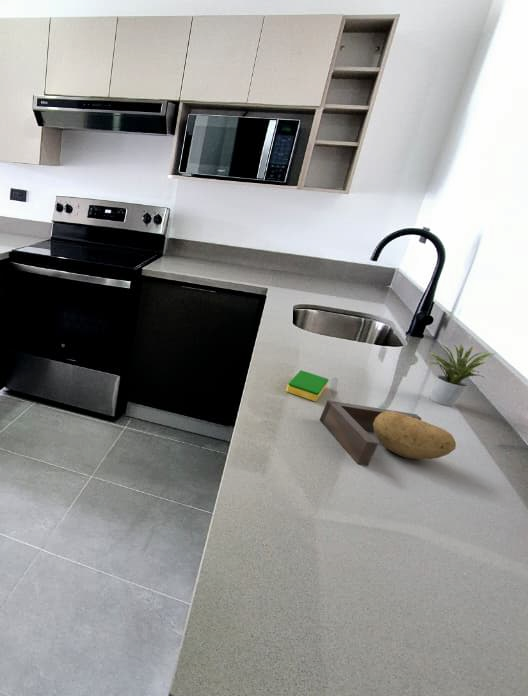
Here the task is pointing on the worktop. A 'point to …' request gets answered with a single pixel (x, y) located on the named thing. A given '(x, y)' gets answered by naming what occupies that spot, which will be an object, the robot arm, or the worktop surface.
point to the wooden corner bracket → (354, 427)
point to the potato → (412, 436)
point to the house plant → (454, 376)
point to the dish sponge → (307, 385)
